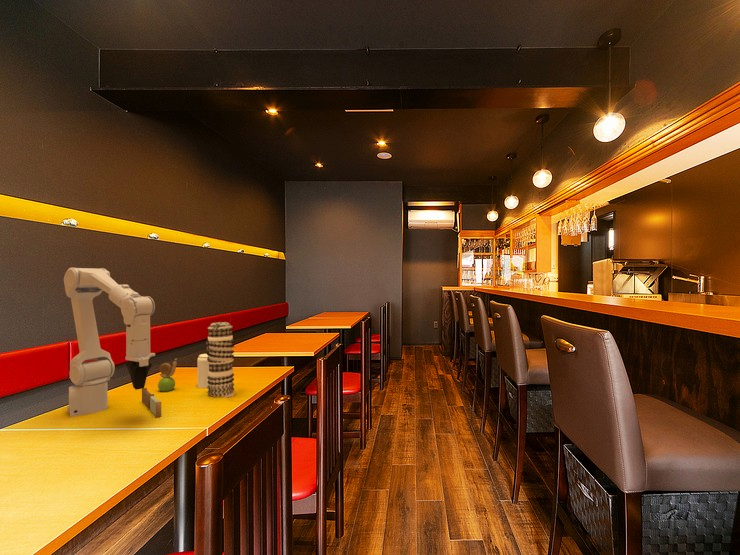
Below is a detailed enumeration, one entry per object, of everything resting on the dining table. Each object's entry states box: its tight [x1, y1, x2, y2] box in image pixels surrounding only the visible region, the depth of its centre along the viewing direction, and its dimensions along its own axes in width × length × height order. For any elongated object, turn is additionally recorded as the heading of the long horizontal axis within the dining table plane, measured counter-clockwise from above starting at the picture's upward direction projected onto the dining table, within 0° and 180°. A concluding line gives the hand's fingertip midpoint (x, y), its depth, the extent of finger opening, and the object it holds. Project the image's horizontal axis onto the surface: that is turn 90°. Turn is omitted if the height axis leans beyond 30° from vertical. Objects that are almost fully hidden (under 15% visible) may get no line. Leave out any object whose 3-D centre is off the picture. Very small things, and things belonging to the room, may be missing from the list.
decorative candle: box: [205, 321, 235, 399], centre depth 124 cm, size 9×9×25 cm
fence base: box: [141, 387, 155, 411], centre depth 113 cm, size 2×11×4 cm, turn 43°
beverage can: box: [196, 353, 209, 389], centre depth 135 cm, size 8×8×12 cm
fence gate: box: [149, 395, 162, 418], centre depth 106 cm, size 9×1×4 cm, turn 43°
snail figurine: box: [157, 358, 178, 393], centre depth 129 cm, size 5×6×12 cm
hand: (138, 388), depth 101 cm, fingers closed
